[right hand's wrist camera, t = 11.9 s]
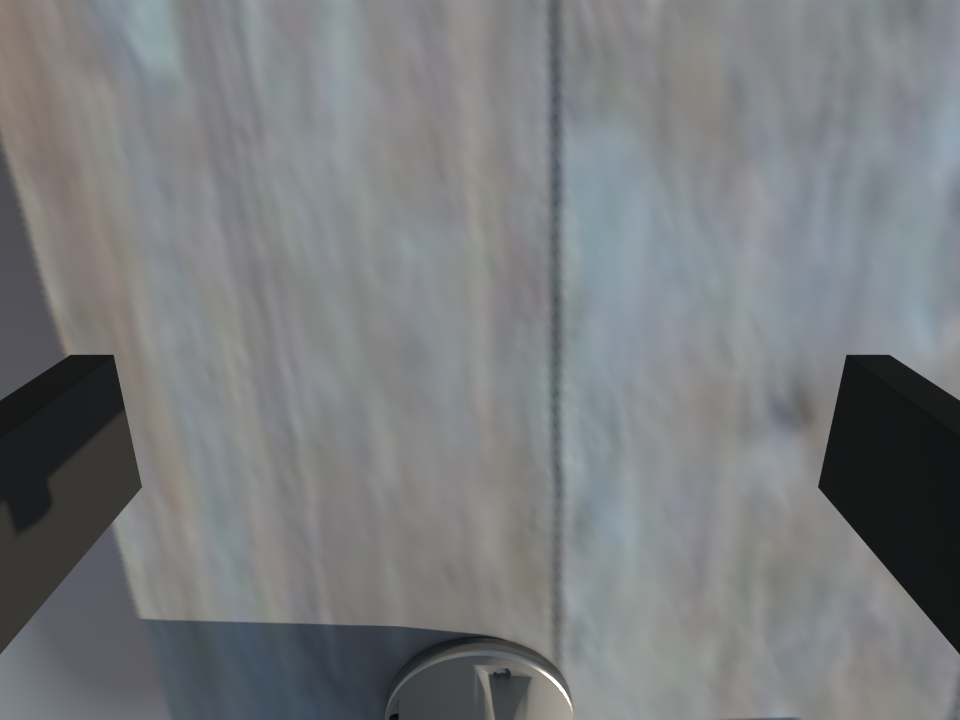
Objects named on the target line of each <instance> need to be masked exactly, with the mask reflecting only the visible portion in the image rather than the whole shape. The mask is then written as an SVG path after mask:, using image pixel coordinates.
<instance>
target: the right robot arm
mask: <svg viewBox="0 0 960 720" xmlns="http://www.w3.org/2000/svg"><path fill="white" fill-rule="evenodd" d="M141 488H142V485H141V481H140V476H139V471H138V467H137V462H136V457H135V453H134V448H133V443H132V439H131V434H130V430H129V425H128V420H127V416H126V411H125V406H124V402H123V397H122V392H121V388H120V383H119V378H118V374H117V369H116V364H115V360H114V355H70V356H68V357H67V358H65V359H64V360H62V361H60V362H59V363H57V364H56V365H54V366H53V367H51V368H50V369H48V370H47V371H45V372H44V373H42V374H41V375H39V376H37V377H36V378H34V379H33V380H31V381H30V382H28V383H27V384H25V385H24V386H22V387H21V388H19V389H17V390H16V391H14V392H13V393H11V394H10V395H8V396H7V397H5V398H4V399H2V400H1V401H0V654H1V653H2V652H3V650H4V649H5V648H6V647H7V646H8V645H9V643H10V642H11V641H12V640H13V639H14V637H15V636H16V635H17V634H18V633H19V632H20V630H21V629H22V628H23V627H24V626H25V624H26V623H27V622H28V621H29V620H30V618H31V617H32V616H33V615H34V614H35V613H36V611H37V610H38V609H39V608H40V607H41V606H42V604H43V603H44V602H45V601H46V600H47V599H48V597H49V596H50V595H51V594H52V593H53V591H54V590H55V589H56V588H57V587H58V586H59V584H60V583H61V582H62V581H63V580H64V578H65V577H66V576H67V575H68V574H69V573H70V571H71V570H72V569H73V568H74V567H75V565H76V564H77V563H78V562H79V561H80V560H81V558H82V557H83V556H84V555H85V554H86V553H87V551H88V550H89V549H90V548H91V547H92V545H93V544H94V543H95V542H96V541H97V540H98V538H99V537H100V536H101V535H102V534H103V532H104V531H105V530H106V529H107V528H108V527H109V525H110V524H111V523H112V522H113V521H114V519H115V518H116V517H117V516H118V515H119V514H120V512H121V511H122V510H123V509H124V508H125V506H126V505H127V504H128V503H129V502H130V501H131V499H132V498H133V497H134V496H135V495H136V494H137V492H138V491H139V490H140V489H141ZM818 488H819V489H820V490H821V491H822V492H823V494H824V495H825V496H826V497H827V498H828V499H829V501H830V502H831V503H832V504H833V505H834V506H835V508H836V509H837V510H838V511H839V512H840V514H841V515H842V516H843V517H844V518H845V519H846V521H847V522H848V523H849V524H850V525H851V527H852V528H853V529H854V530H855V531H856V532H857V534H858V535H859V536H860V537H861V538H862V540H863V541H864V542H865V543H866V544H867V545H868V547H869V548H870V549H871V550H872V551H873V553H874V554H875V555H876V556H877V557H878V558H879V560H880V561H881V562H882V563H883V564H884V565H885V567H886V568H887V569H888V570H889V571H890V573H891V574H892V575H893V576H894V577H895V578H896V580H897V581H898V582H899V583H900V584H901V586H902V587H903V588H904V589H905V590H906V591H907V593H908V594H909V595H910V596H911V597H912V599H913V600H914V601H915V602H916V603H917V604H918V606H919V607H920V608H921V609H922V610H923V611H924V613H925V614H926V615H927V616H928V617H929V619H930V620H931V621H932V622H933V623H934V624H935V626H936V627H937V628H938V629H939V630H940V632H941V633H942V634H943V635H944V636H945V637H946V639H947V640H948V641H949V642H950V643H951V645H952V646H953V647H954V648H955V649H956V650H957V652H958V653H959V654H960V401H959V400H958V399H956V398H955V397H953V396H952V395H950V394H949V393H947V392H946V391H944V390H943V389H941V388H939V387H938V386H936V385H935V384H933V383H932V382H930V381H929V380H927V379H926V378H924V377H923V376H921V375H919V374H918V373H916V372H915V371H913V370H912V369H910V368H909V367H907V366H906V365H904V364H903V363H901V362H900V361H898V360H896V359H895V358H893V357H892V356H890V355H846V360H845V364H844V369H843V374H842V378H841V383H840V388H839V392H838V397H837V402H836V406H835V411H834V416H833V420H832V425H831V430H830V434H829V439H828V443H827V448H826V453H825V457H824V462H823V467H822V471H821V476H820V481H819V485H818ZM385 720H574V713H573V706H572V700H571V694H570V691H569V688H568V685H567V683H566V681H565V679H564V678H563V676H562V674H561V673H560V672H559V671H558V669H557V668H556V667H555V666H554V665H553V664H552V663H551V662H550V661H548V660H547V659H546V658H545V657H543V656H542V655H540V654H539V653H537V652H535V651H533V650H531V649H529V648H527V647H525V646H522V645H520V644H517V643H514V642H510V641H506V640H500V639H493V638H466V639H458V640H454V641H449V642H446V643H442V644H439V645H437V646H434V647H432V648H430V649H428V650H426V651H424V652H422V653H421V654H419V655H417V656H416V657H415V658H413V659H412V660H411V661H409V662H408V663H407V664H406V665H405V666H404V667H403V668H402V670H401V671H400V672H399V673H398V675H397V676H396V678H395V679H394V681H393V683H392V685H391V688H390V691H389V695H388V700H387V706H386V713H385Z"/></svg>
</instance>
